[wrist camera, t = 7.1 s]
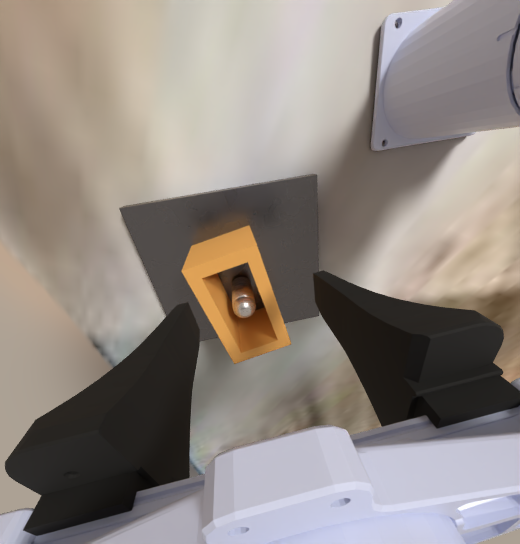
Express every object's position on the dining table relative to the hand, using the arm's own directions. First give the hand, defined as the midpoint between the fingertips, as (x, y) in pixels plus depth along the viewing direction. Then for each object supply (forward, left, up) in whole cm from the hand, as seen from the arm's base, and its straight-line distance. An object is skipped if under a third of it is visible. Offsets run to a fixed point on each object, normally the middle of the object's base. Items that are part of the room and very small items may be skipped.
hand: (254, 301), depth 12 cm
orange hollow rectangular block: (+1, +3, -9) cm, 9 cm away
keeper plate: (+1, +2, -10) cm, 10 cm away
